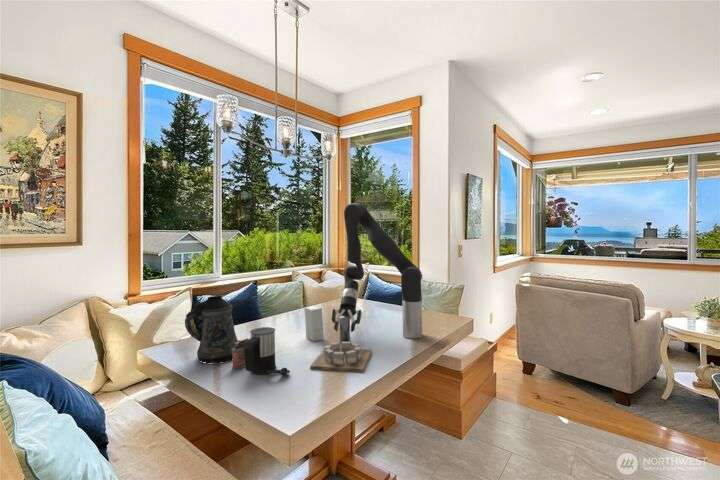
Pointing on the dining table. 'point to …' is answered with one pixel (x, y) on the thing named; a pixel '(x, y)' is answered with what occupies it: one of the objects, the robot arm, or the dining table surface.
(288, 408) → the dining table surface
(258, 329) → the milk frother
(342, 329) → the metal pin
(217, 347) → the beer stein
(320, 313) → the skincare box
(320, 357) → the castellated collar
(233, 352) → the lighter
